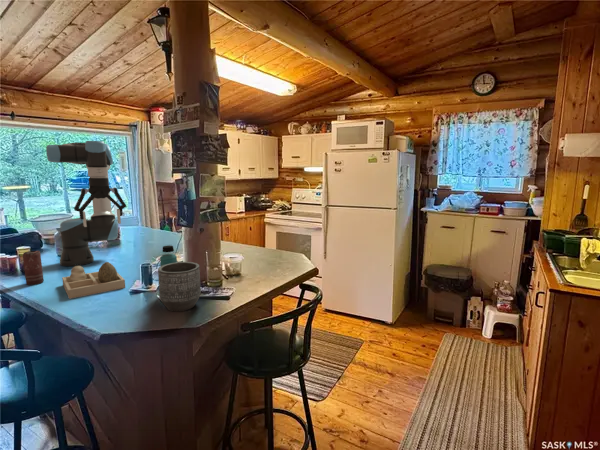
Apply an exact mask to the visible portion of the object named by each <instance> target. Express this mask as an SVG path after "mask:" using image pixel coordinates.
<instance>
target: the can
mask: <svg viewBox="0 0 600 450" xmlns="http://www.w3.org/2000/svg"><path fill="white" fill-rule="evenodd" d="M22 260H23V269H24V275H25V276H24V277H25V283H26V285H28V286H37V285H41V284H43V283H44V274H43V273H44V271H43V264H42V263H43V262H42V255H41V251H40V250H30V251H24V252H23V254H22Z"/></svg>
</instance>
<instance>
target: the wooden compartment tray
mask: <svg viewBox="0 0 600 450" xmlns="http://www.w3.org/2000/svg"><path fill="white" fill-rule="evenodd" d="M98 272H99V271H93V272H87V273H86V272H85V273H86V276H87V277H86V280H80V281H74V282H71V280H70V275H68V276H62V286H63V288H64V291H65V293H66V294H67V297H68V299H69V300H70V299H75V298H81V297H85V296H90V295H95V294H100V293H105V292H110V291H115V290H120V289H125V288H126V279H125V278H123V276H122V275H121V274H119V273H118V272H117V279H116V281H111V282H106V283H101V282H100V281H99V279H98Z"/></svg>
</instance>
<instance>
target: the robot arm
mask: <svg viewBox="0 0 600 450" xmlns="http://www.w3.org/2000/svg"><path fill="white" fill-rule="evenodd" d="M45 150H46V159H47V161H48V162H49V163H57V164H59V163H67V164H74V165H85V166H86V167H85V168H86V169H87V176H88V177H89V178H88V188H81V190H80V195H79V197H78V198H77V201H76V203H75V206H74V208H73V210H74V211H75V212H78V214H79V217H75V218H71V219H66V220H63V221H62V222H61V223H60V226H59V228H60V230H59V232H60V236H61V249H62V250H61V255H60V259H59V265H60V266H63V267H75V266H83V265H87V264H90V263H93V262H94V261H95V259H94V258H95V257H94V255H93V253H92V251H91V249H90V246H89V243H94V242H103V241H104V242H106V241H114V240H116V239H118V234H119V233H118V232H119V224H120V225H121V224H122V221H121V217H122V216H123V214H124V213H123V209H124V208H127V204H126V202H125V201H124V200H123V198H122V197H121V195H120V193H119V192H118V188H117V187H115V186H114V187H111V188H110V181H109V172H108V171H109V170H110V169H111V166H112V165H113V164H114V162H113V155H112V151H111V148H110V145H109V144H108V143H105V141H103V140H102V141H101V140H86V141H85V142H68V143H63V144H48V145H46V148H45ZM88 193H89V194H90V195H89V196H88V198H87V199H86V201H85V202H84V203H83V204H82V202H83V200H84V198H85V196H86V194H88ZM111 193H113V194H114V196H115V197H116V199H117V200H118V202H117V201H116V200H115V199H114V198H113V197H112V196H111ZM91 202H92V211H93V212H92V215H91V216H90V219H89V220H87V218H86V216H87V215H86V211H85V210H86V209H87V208H88V206H89V205H90V204H91ZM119 203H120V204H119ZM81 204H82V205H81ZM112 204H114V206H115V207H117V208H116V215H115V214H114V213H113V212H112Z"/></svg>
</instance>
